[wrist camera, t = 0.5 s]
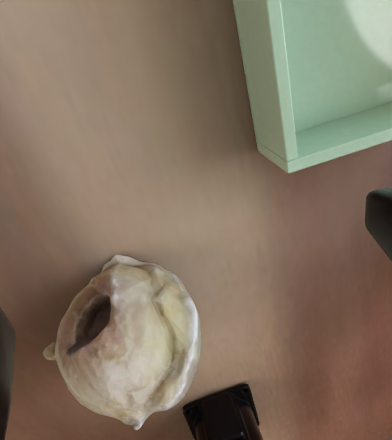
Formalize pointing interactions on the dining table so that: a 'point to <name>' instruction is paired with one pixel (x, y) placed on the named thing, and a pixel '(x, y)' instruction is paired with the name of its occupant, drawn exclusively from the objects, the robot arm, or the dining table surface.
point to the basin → (317, 76)
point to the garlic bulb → (129, 341)
